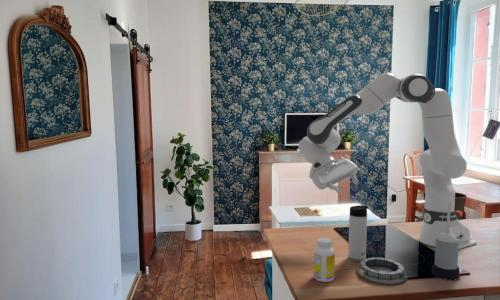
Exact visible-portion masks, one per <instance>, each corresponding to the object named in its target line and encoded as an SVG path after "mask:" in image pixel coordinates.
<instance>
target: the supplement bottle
mask: <svg viewBox="0 0 500 300" xmlns="http://www.w3.org/2000/svg"><path fill="white" fill-rule="evenodd" d="M316 244H317V246H315V248H314V250H313V251H314V252H313V276H314V279H315V280H316V281H318V282H322V283H330V282H333V281H334V280H335V276H336V275H335V271H336V269H335V267H336V264H335V263H336V261H335V259H336V251H335V249H334V248H333V247H332V245H333V240H332V239H330V238H326V237H319V238H318V239H317V241H316Z"/></svg>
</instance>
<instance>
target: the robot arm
mask: <svg viewBox="0 0 500 300" xmlns="http://www.w3.org/2000/svg"><path fill="white" fill-rule="evenodd" d="M394 98H395V99H398V100H400V101H402V102H403V103H418V105H419V106H420V109H421V118H422V127H423V128H422V129H423V137H424V139H425V141H426V144H427V146H428V149H426V150H424V151H423V152H422V153H421V154H420V156H419V164H420V167H421V171H422V176H423V183H424V194H425V195H424V207H423V209H422V216H423V218H422V219H423V220H422V224H421V230H420V233H419V237H418V240H419V241H420V243H422V244H424V245H427V246H431V247H435V244H436V237H437V235H438V234H440V233H442V232H445V231H446V228H447V214H448V205H449V201H450V202H451V213H450V229H449V230H450V232H451V233H452V234H454V235H455V236H456V237H457V239H458V242H459V246H458V250H461V249H464V248H467V247H470V246H474V245H477V241H476V240H475V239H473V238H471V233H470V229H469V227H468V226H467V225H465V224H464V223H463V222H462V221H461V220H460V221H459V220H458V218H457V215H458V216H461V217H462V216H463V213H464V212H463V213H462V212H461V211H455V210H454V206H455V192H456V191H455V188H454V186H453V183H452V179H458V178H460V177H462V176H463V175H464V174H465V173H466V171H467V168H468V167H467V166H468V165H467V161H466V159H465V157H464V156H463V155H462V153H461V150H460V147H459V144H458V141H457V138H456V134H455V126H454V117H453V116H454V114H453V107H452V102H451V99H450V96H449V93H448V91H446V90H445V89H443V88H438V87H437V88H436V87H435V86H434V85H433V84H432V82H431V80H430V79H429V78H428V77H427V76H425V75H424V74H421V73H420V74H419V73H414V74H410V75H406V76H405V77H402V78H398V77H397V76H396V75H395V74H393V73H391V72H382V73H381V74H380V75H378V76H377V77H375V78H374V79H373V80H371V81H370V82H369V83H368V84H366V86H364V87H363V88H362V89H360V90H359V92H356V94H353V95H351V96H349V97H347V98H345V99H344V100H343V101H341V102H339V104H337V105H336V106H334V107H333V108H332V109H331V110H330V111H328V112H327V113H326V114H324V115H322V116H321V117H318V118H317V119H315V120H313V121H311V122H310V124H309V125H308V126H307V129H306V136H304V137H303V138H301V140H300V141H299V144H298V151H299V153H300V155H301V156H302V157H303V158H304V159H305V160H306V161H307V162H308V163H309V164H311V167H310V171H309V174H308V177H309V178H310V179H311V180H312V183H313V184H314V185H315V187H316V188H317V189H319V190H321V191H322V190H325V189H327V188H329V190H333V191H335V193H339V192H341V190H342V188H341V187H340V186H339V185H335V184H338V183H339V182H342V181H344V180H345V179H348V178H351V180H352V183H353V185H354V184H355V185H356V184H357V183H359V179H358V178H357V176H356V174H357V172H358V170H359V166H358V165H357V164H356V163H354V162H353V161H351V160H350V159H348V158H346V157H345V158H344V157H340V158H339V159H336V158H334V157H333V156H332V155H331V153H333V152H334V151H335V150H337V149H338V147H339V146H340V144H341V142H342V137H341V135H340V133H339V131H337V130H336V129H334V128H335V127H336V126H337V125H339V123H342V122H343V121H345V119H346V118H347V117H349V116H351V115H356V114H357V115H358V114H359V115H363V116H371V115H374V114H375V113H377V112H378V111H379V110H381V109H382V108H384V106H385V105H386V104H387V103H388V102H389V101H391V100H392V99H394ZM443 208H444V212H443ZM443 215H444V216H443ZM442 217H443V218H442ZM442 219H443V221H442ZM442 225H443V231H442Z"/></svg>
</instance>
